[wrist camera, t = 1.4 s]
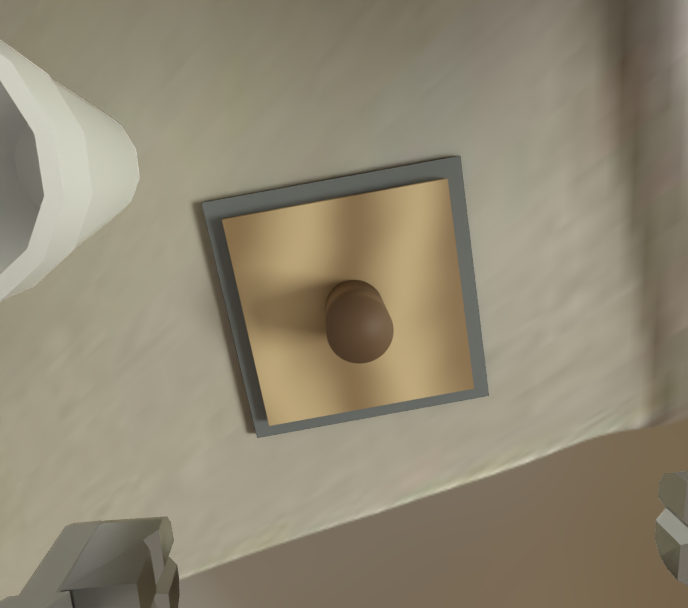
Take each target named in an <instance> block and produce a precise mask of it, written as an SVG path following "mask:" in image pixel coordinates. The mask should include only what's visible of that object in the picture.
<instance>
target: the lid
mask: <svg viewBox="0 0 688 608" xmlns="http://www.w3.org/2000/svg"><path fill="white" fill-rule="evenodd" d="M222 222H223V227H224V231H225V235H226V240H227V244H228V248H229V253H230V257H231V262H232V266H233V270H234V275H235V279H236V283H237V288H238V292H239V296H240V301H241V305H242V309H243V314H244V318H245V323H246V327H247V331H248V336H249V340H250V344H251V349H252V353H253V357H254V362H255V366H256V370H257V375H258V379H259V383H260V388H261V392H262V397H263V401H264V405H265V410H266V414H267V418H268V423H269V426H272V425H277V424H283V423H288V422H294V421H299V420H305V419H310V418H316V417H321V416H327V415H332V414H338V413H343V412H349V411H354V410H360V409H365V408H371V407H376V406H381V405H387V404H392V403H398V402H403V401H409V400H414V399H420V398H425V397H431V396H436V395H442V394H447V393H453V392H458V391H464V390H469V389H474V384H473V376H472V368H471V360H470V352H469V344H468V336H467V328H466V320H465V312H464V304H463V296H462V288H461V280H460V273H459V265H458V257H457V249H456V241H455V233H454V225H453V217H452V209H451V201H450V193H449V185H448V179H446V178H443V179H437V180H432V181H426V182H421V183H415V184H410V185H404V186H399V187H393V188H388V189H382V190H377V191H371V192H366V193H360V194H355V195H349V196H344V197H338V198H333V199H327V200H322V201H316V202H311V203H305V204H300V205H294V206H289V207H283V208H278V209H272V210H267V211H261V212H256V213H250V214H245V215H239V216H234V217H228V218H224V219H222Z"/></svg>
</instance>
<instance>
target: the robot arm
mask: <svg viewBox="0 0 688 608" xmlns="http://www.w3.org/2000/svg"><path fill="white" fill-rule="evenodd" d="M658 497H659V499H660V500H661V501H662V503H663V504H664V506H665V507H666V508H665V509H664V511H663V512H662V513H661V515H660V516H659V517H658V518H657V520H656V532H655V540H656V543H657V547H658V550H659V554H660V557H661V559H662V560H663V562H664V564H665V566H666V567H667V569H668V570H669V571H670V572H671V574H672V575H673V576H674V577H675V578H676V579H677V580H678V581H680V582H682V583H684V584H686V585H688V471H683V472H675V473H666V474H664V475H663V477H662V479H661V481H660V483H659V492H658ZM173 542H174V538H173V532H172V527H171V522H170V520H169V519H168V517H167V516H166V517H151V518H136V519H122V520H107V521H92V522H82V523H73V524H70V525H68V526H66V527H65V528H64V529H63V531H62V532H61V534H60V535H59V537H58V538H57V540H56V541H55V543H54V544H53V546H52V547H51V548H50V550H49V551H48V553H47V554H46V556H45V557H44V559H43V560H42V562H41V563H40V565H39V566H38V568H37V569H36V571H35V572H34V574H33V575H32V577H31V578H30V580H29V581H28V582H27V584H26V585H25V587H24V588H23V590H22V591H21V593H20V594H19V596H10V597H7V598H5V599H3V600H2V601H0V608H178V603H179V595H180V593H179V574H178V566H177V564H176V563H175V562H174V561H173V560H172V559H171V558H170V557H169V553H170V550H171V547H172V545H173Z"/></svg>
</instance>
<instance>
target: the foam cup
mask: <svg viewBox="0 0 688 608" xmlns="http://www.w3.org/2000/svg"><path fill="white" fill-rule="evenodd" d="M139 178H140V176H139V167H138V159H137V151H136V149H135V147H134V145H133V144H132V142H131V140H130V139H129V137H128V135H127V134H126V132H125V130H124V128H123V127H122V125H120V124H119V123H118V122H116V121H115V120H114V119H112V118H111V117H109V116H108V115H107V114H105V113H104V112H102V111H101V110H100V109H98V108H97V107H96V106H94V105H93V104H91V103H90V102H88V101H86V100H85V99H83V98H82V97H80V96H79V95H77V94H75V93H74V92H72V91H71V90H69V89H68V88H66V87H64V86H63V85H61V84H60V83H58V82H57V81H55V80H53V79H52V78H50V76H49V74H48V73H46V72H45V71H43V70H42V69H41V68H39V67H38V66H36V65H35V64H34V63H32V62H31V61H30V60H28V59H27V58H25V57H24V56H23V55H21V54H20V53H18V52H17V51H16V50H14V49H13V48H12V47H10V46H9V45H7V44H6V43H5V42H3V41H2V40H0V301H3V300H5V299H7V298H9V297H12V296H14V295H16V294H19V293H21V292H23V291H25V290H28V289H30V288H32V287H34V286H35V285H36V284H37V283H39V282H40V281H41V280H42V279H43V278H44V277H45V276H46V275H47V274H48V273H49V272H50V271H52V270H53V269H54V268H55V267H56V266H57V265H58V264H59V263H60V262H61V261H62V260H63V259H64V258H66V257H67V256H68V255H69V254H70V253H71V252H72V251H73V250H74V249H75V248H76V247H77V246H79V245H80V244H81V243H83V242H84V241H85V240H86V239H88V238H89V237H90V236H92V235H93V234H94V233H96V232H97V231H98V230H100V229H101V228H102V227H103V226H105V225H106V224H107V223H109V222H110V221H111V220H112V219H113V218H114V217H115V216H117V215H118V214H119V213H120V212H121V211H122V210H123V209H124V208H125V207H126V206H127V205H128V204H130V203H131V201H132V198H133V195H134V192H135V189H136V187H137V184H138V181H139Z"/></svg>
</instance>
